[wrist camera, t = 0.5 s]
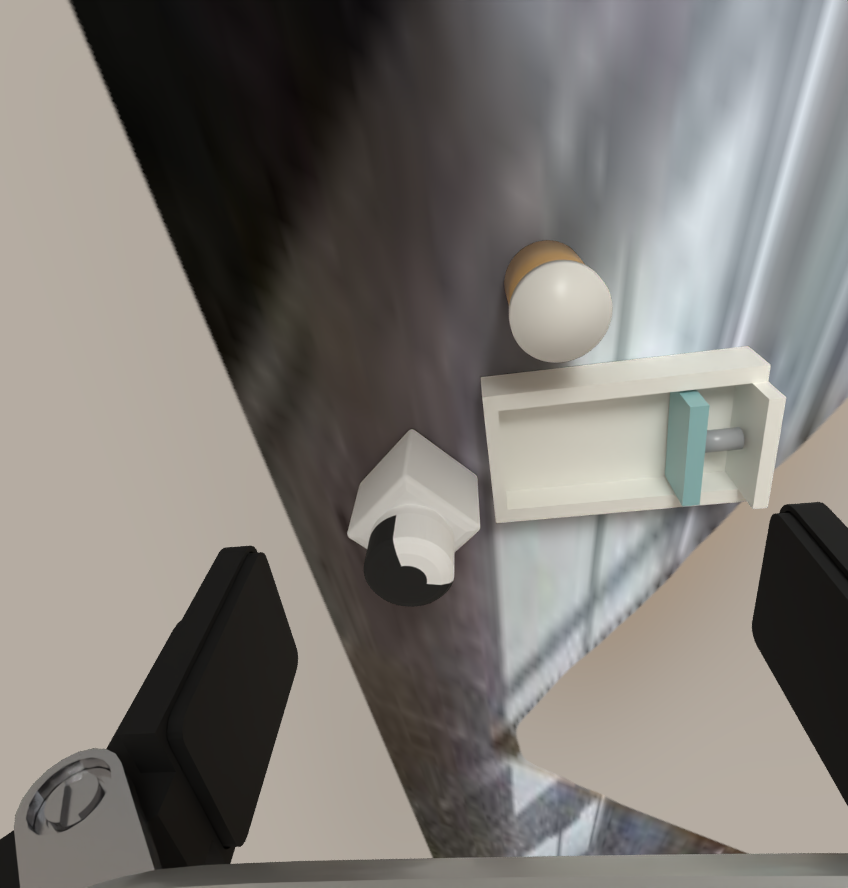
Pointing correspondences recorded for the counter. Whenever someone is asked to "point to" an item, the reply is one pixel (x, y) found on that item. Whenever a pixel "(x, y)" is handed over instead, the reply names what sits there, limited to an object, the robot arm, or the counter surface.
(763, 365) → the lane
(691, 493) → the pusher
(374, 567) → the medicine bottle
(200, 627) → the robot arm
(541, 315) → the jar
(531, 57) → the counter surface
